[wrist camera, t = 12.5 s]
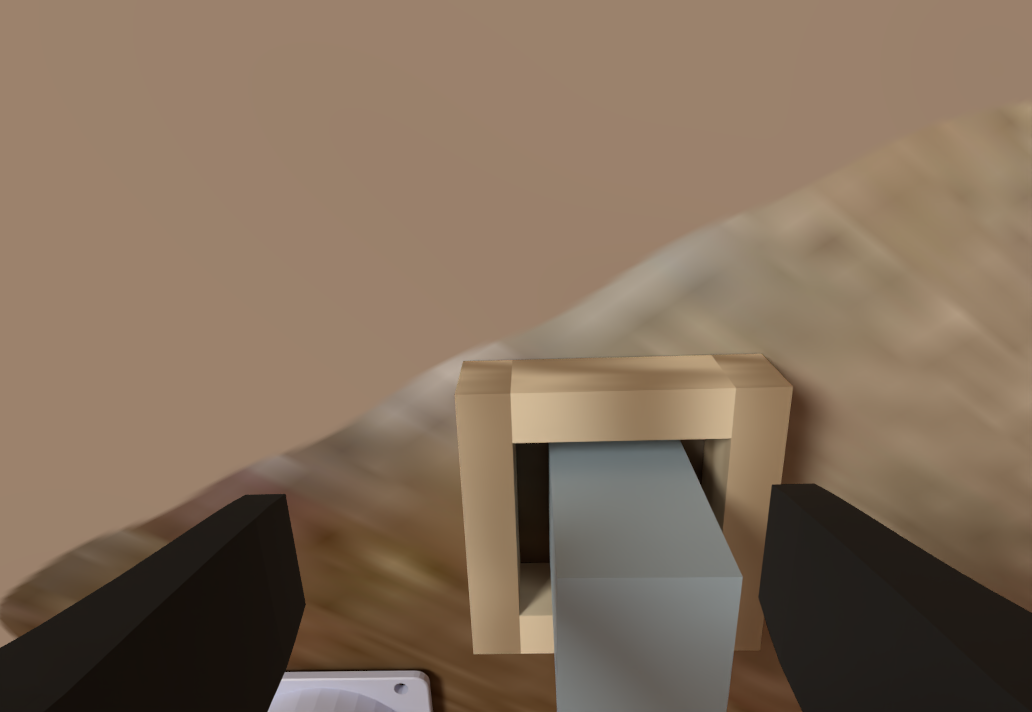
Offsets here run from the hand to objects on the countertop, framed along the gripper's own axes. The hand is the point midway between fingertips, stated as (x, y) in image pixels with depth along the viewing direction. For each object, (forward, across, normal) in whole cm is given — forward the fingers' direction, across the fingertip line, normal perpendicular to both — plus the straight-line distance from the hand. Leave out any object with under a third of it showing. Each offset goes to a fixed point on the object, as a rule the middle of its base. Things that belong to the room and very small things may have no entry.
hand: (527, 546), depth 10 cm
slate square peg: (+10, -2, +6) cm, 12 cm away
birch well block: (+10, -2, +6) cm, 12 cm away
